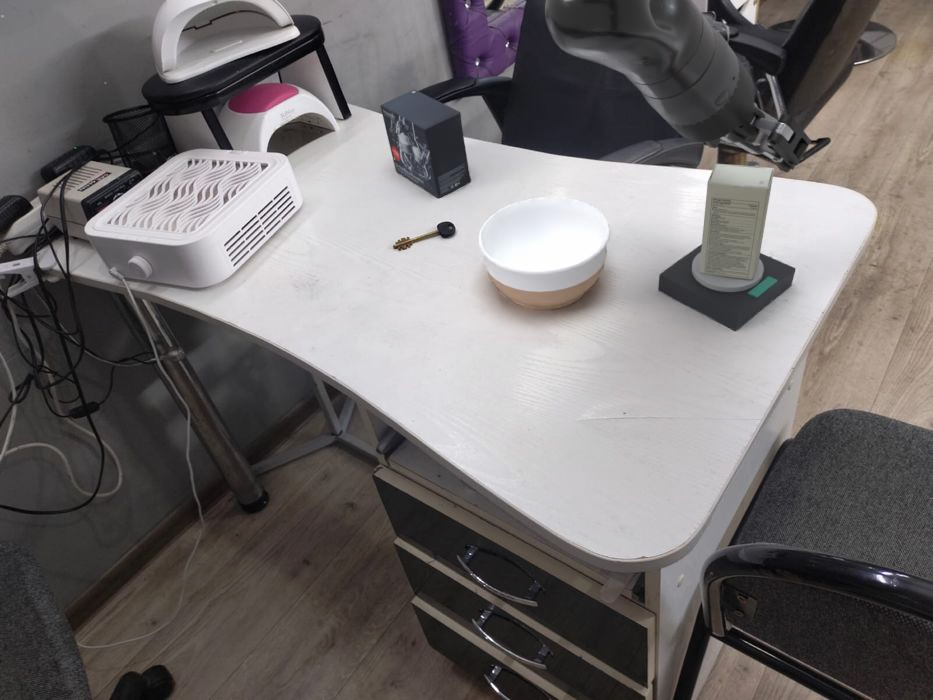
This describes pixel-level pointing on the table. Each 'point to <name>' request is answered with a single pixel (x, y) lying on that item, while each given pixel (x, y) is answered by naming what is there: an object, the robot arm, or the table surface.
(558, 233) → the bowl
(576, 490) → the table surface
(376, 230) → the table surface
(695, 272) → the scale
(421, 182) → the small box
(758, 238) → the cosmetic box
